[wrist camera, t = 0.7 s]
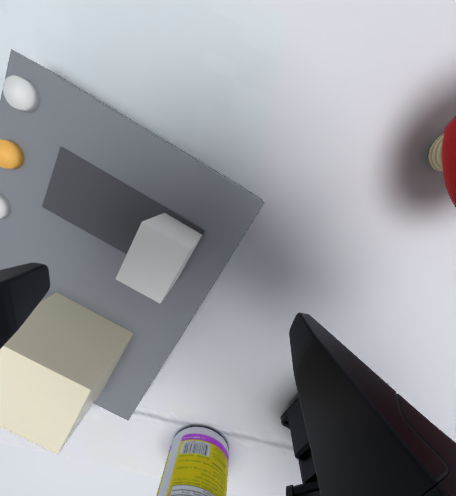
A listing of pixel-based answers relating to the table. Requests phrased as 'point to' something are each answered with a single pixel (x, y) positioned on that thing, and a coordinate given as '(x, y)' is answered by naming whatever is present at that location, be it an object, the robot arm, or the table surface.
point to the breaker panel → (107, 214)
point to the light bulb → (446, 157)
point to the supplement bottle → (196, 464)
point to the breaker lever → (158, 256)
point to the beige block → (56, 370)
